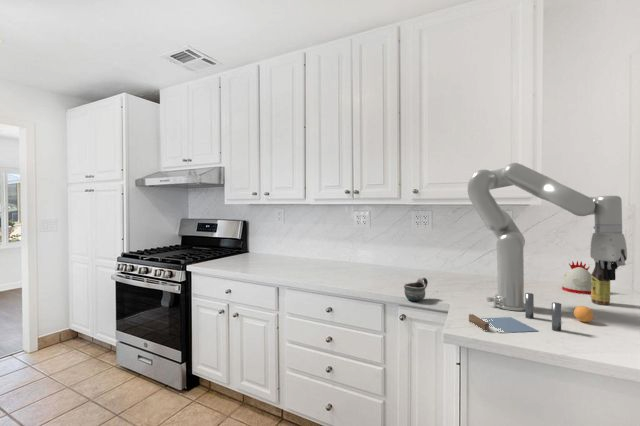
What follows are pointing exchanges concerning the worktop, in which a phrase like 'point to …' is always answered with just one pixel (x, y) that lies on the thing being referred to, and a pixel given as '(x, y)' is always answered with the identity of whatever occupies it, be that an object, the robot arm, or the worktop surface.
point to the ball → (583, 314)
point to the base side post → (529, 305)
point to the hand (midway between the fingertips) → (609, 279)
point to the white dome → (577, 279)
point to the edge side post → (556, 316)
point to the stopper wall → (478, 322)
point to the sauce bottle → (599, 286)
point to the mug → (416, 289)
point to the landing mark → (509, 324)
